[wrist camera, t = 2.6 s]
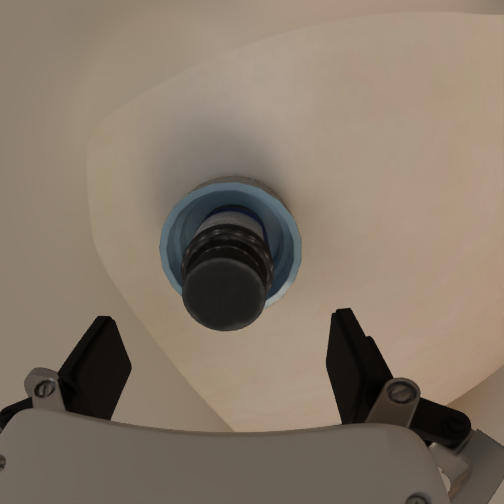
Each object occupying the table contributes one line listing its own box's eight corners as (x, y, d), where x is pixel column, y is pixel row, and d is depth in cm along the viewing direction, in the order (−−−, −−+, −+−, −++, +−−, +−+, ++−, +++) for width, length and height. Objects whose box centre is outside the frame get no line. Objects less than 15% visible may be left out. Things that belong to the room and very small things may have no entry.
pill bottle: (250, 277, 27) (252, 354, 17) (189, 253, 26) (157, 321, 16) (277, 218, 25) (298, 270, 15) (213, 192, 24) (188, 226, 14)
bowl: (183, 290, 28) (172, 317, 23) (168, 181, 24) (150, 190, 19) (292, 284, 28) (300, 311, 23) (290, 172, 24) (300, 178, 19)
